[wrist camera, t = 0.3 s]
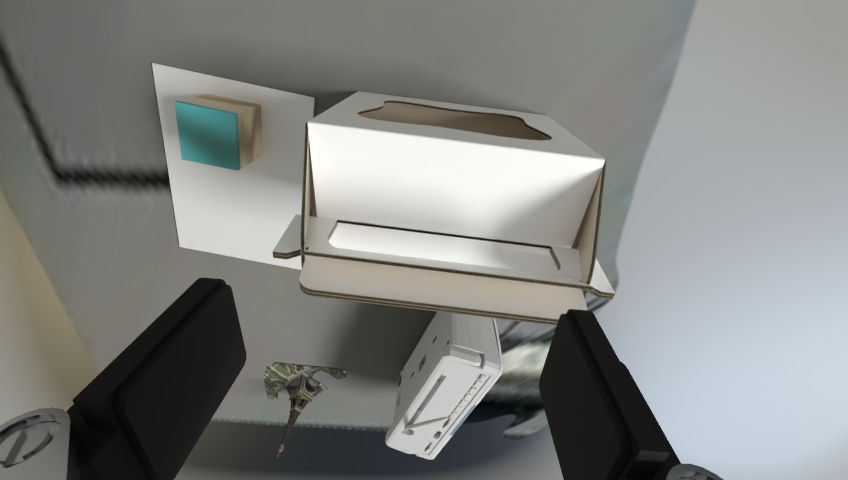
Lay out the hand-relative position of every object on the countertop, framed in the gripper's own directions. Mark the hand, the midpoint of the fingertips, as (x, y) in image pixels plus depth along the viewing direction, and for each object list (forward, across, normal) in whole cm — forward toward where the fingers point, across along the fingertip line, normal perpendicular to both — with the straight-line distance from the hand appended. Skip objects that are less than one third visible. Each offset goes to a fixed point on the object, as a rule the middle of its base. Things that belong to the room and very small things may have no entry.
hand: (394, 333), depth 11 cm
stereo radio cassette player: (+36, -4, +35) cm, 50 cm away
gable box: (+36, -2, +5) cm, 36 cm away
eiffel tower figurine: (+37, +19, +48) cm, 63 cm away
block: (+35, +23, +3) cm, 42 cm away
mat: (+36, +24, +10) cm, 44 cm away
